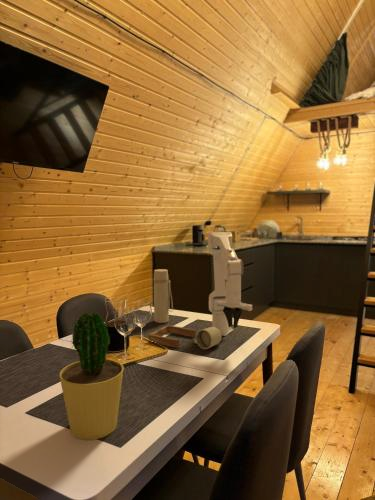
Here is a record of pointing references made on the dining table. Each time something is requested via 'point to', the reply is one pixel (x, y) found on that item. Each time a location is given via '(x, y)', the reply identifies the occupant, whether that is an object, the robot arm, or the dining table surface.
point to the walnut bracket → (171, 342)
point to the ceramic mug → (208, 337)
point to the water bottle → (161, 296)
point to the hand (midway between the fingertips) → (233, 326)
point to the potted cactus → (91, 381)
